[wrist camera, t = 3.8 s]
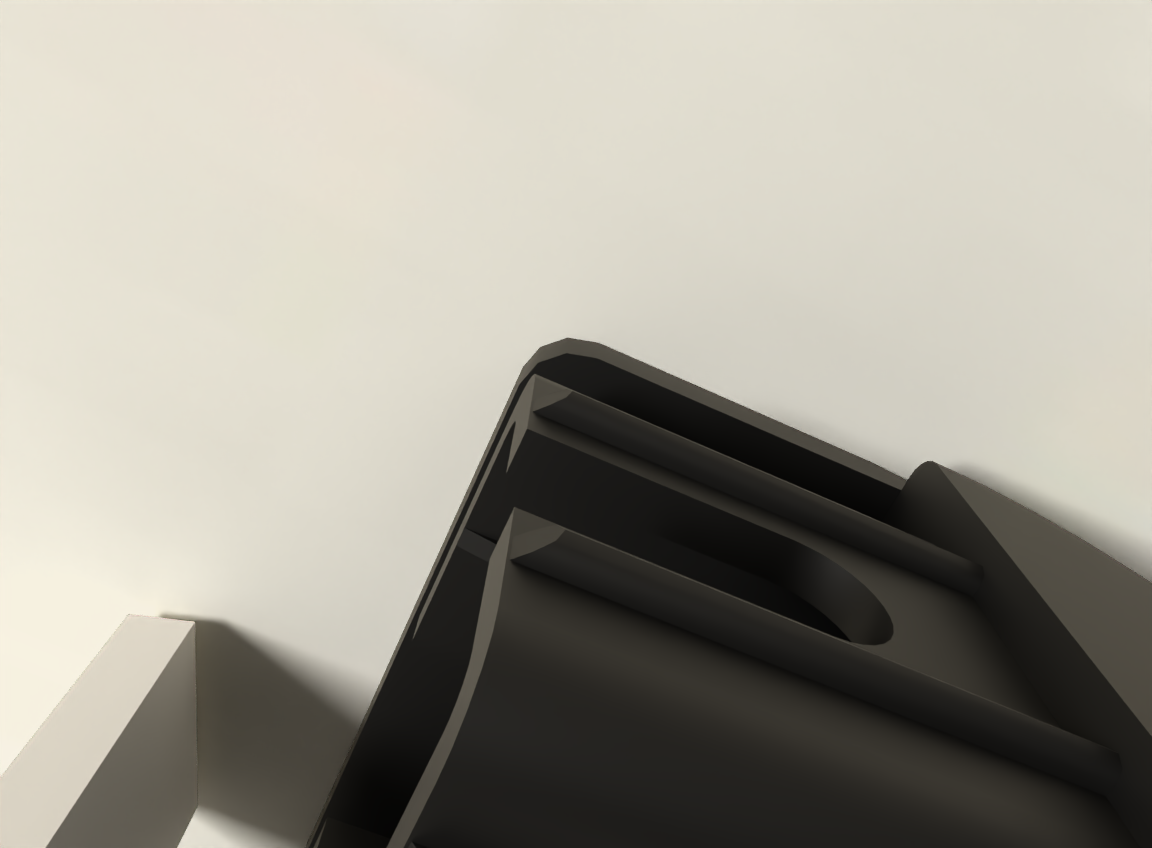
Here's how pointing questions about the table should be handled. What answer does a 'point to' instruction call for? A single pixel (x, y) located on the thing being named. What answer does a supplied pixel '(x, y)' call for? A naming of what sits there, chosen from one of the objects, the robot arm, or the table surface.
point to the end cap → (745, 647)
